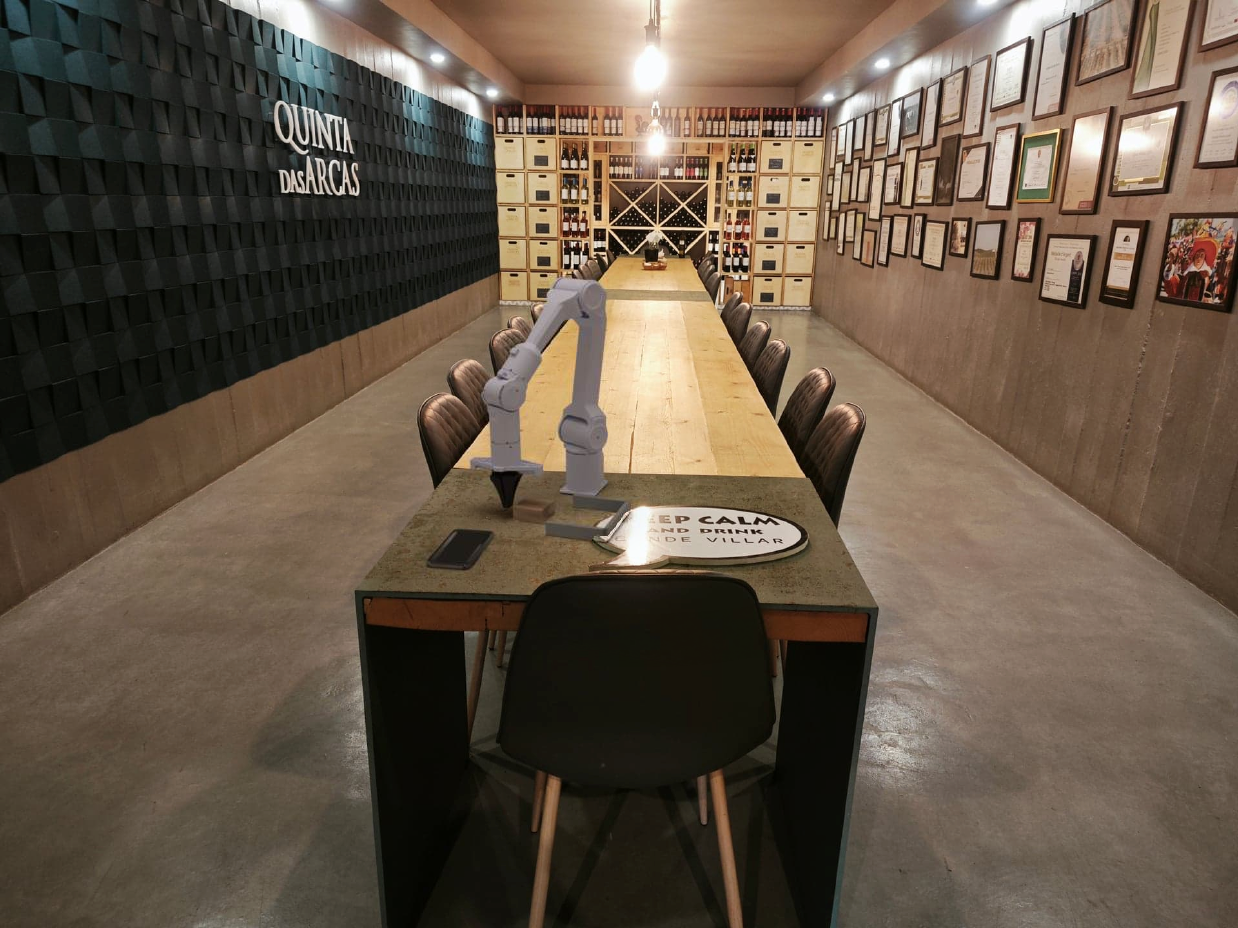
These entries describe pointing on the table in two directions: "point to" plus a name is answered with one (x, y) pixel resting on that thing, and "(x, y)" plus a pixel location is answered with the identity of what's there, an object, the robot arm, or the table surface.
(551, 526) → the grey u-shaped rail
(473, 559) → the phone
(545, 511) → the walnut tile
